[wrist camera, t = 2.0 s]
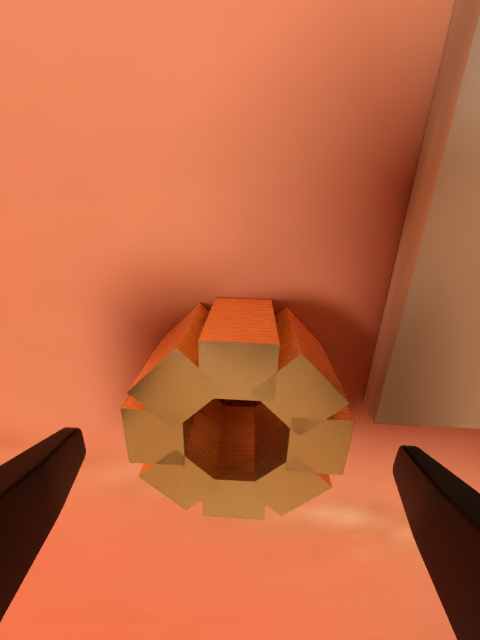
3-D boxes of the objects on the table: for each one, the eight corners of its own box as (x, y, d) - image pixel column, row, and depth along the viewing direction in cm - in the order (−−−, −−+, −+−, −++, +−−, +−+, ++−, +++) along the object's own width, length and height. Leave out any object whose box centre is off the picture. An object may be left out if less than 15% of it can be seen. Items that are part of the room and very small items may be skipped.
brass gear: (333, 302, 10) (370, 348, 7) (311, 441, 13) (331, 523, 9) (154, 295, 10) (109, 336, 7) (166, 433, 13) (136, 511, 10)
